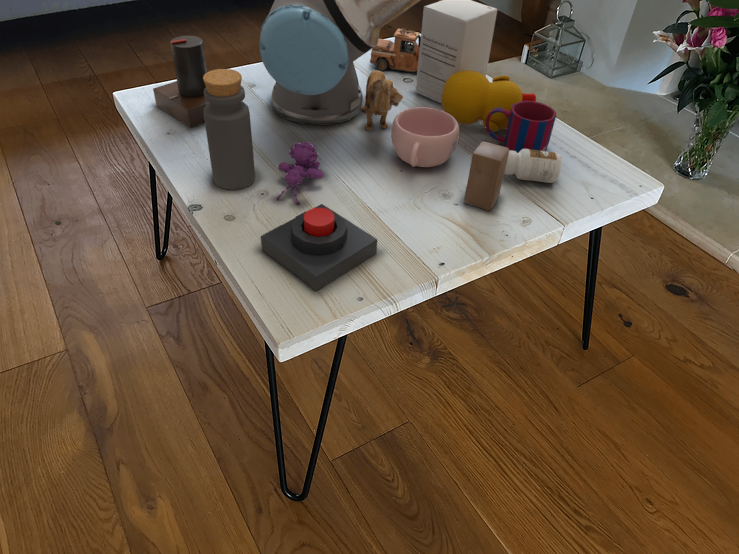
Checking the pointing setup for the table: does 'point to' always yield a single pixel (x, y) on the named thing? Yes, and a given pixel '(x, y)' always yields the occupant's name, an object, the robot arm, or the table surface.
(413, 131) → the mug
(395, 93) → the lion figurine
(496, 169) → the wooden block
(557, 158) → the pill bottle
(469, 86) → the toy
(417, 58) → the toy car
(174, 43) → the dial
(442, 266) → the table surface
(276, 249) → the switch base
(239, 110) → the bottle
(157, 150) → the table surface
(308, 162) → the purple lumpy piece
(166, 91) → the dial panel
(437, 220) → the table surface
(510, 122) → the cup
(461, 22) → the white product box
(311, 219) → the switch
